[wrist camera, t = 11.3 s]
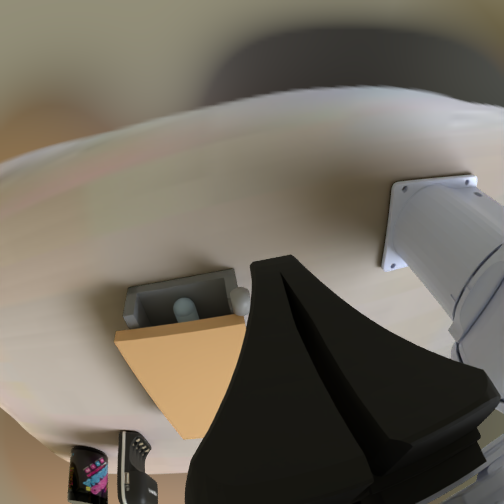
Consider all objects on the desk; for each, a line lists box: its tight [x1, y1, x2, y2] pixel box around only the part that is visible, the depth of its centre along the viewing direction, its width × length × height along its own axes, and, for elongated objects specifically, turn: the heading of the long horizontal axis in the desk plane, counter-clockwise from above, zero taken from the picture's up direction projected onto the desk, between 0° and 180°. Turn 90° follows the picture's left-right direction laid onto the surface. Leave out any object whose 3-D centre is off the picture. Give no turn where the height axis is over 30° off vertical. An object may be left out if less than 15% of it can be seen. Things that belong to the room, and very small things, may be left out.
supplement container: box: [68, 446, 108, 504], centre depth 35 cm, size 7×7×10 cm
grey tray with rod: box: [123, 269, 251, 329], centre depth 26 cm, size 9×21×4 cm, turn 6°
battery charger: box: [117, 431, 158, 504], centre depth 32 cm, size 7×4×11 cm, turn 1°
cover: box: [114, 314, 246, 439], centre depth 25 cm, size 9×18×1 cm, turn 6°
